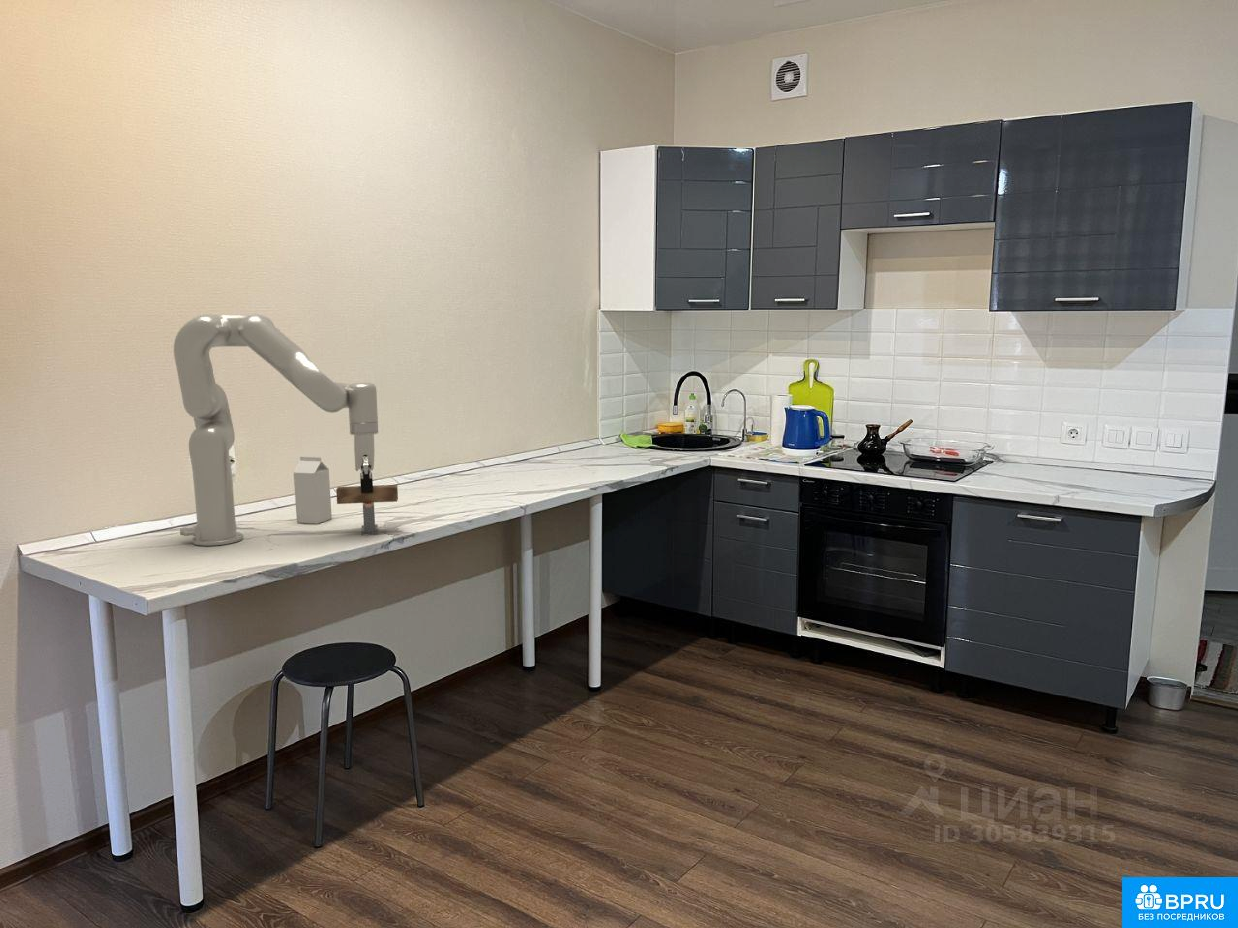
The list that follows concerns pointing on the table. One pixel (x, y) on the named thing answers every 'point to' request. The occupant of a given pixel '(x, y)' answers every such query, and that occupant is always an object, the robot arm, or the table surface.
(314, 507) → the milk carton
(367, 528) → the ridge stand
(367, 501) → the walnut rod
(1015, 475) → the table surface
